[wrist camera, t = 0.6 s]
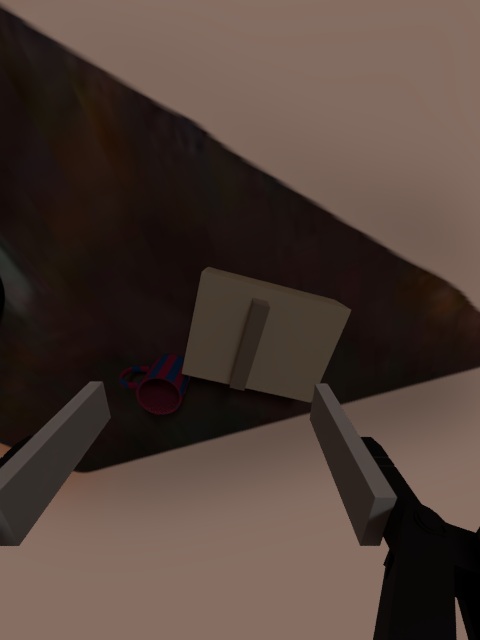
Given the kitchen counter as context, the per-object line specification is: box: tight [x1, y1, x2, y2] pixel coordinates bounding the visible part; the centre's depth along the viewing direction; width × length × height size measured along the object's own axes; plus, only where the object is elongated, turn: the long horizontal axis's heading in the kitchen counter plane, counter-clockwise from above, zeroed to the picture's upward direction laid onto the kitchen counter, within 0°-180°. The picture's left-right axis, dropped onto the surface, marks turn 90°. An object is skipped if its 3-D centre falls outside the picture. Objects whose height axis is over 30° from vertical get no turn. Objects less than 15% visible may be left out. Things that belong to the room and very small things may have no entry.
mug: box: [119, 354, 191, 415], centre depth 36 cm, size 7×10×7 cm
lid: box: [182, 271, 351, 402], centre depth 30 cm, size 20×15×4 cm
